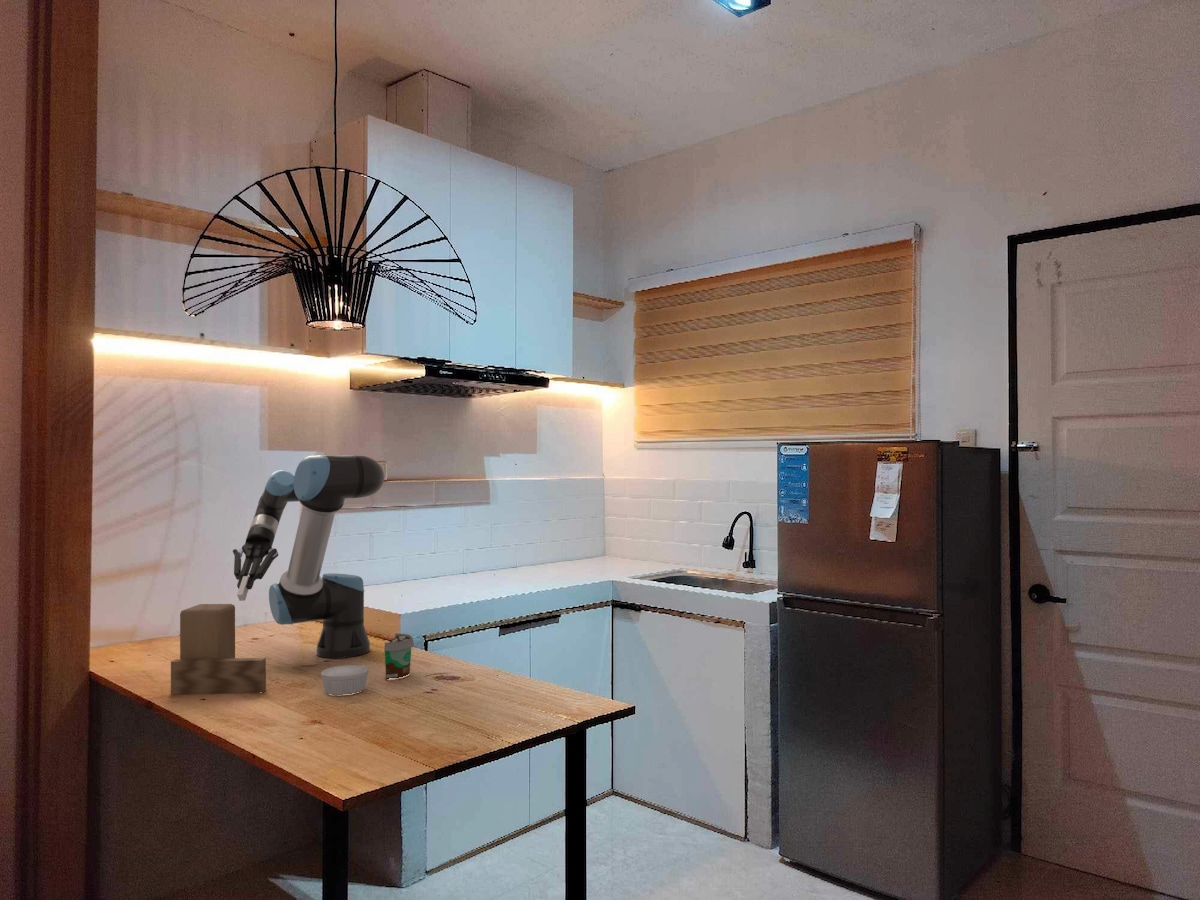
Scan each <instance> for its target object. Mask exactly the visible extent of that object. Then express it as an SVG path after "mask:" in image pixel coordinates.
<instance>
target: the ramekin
mask: <svg viewBox="0 0 1200 900" xmlns="http://www.w3.org/2000/svg"><path fill="white" fill-rule="evenodd" d="M369 672H370V669H369V667H367V666H365V665H361V664H360V665H359V664H353V665H352V664H351V665H350V664H348V665H346V664H345V665H338V666H333V667H329V668H326V669H324V670H322V671H320V678H321V679H322V685H323V690H324V692H325V694H326V693H327V694H332V695H343V694H352V693H357V692H360V691H362V690H363V691H365V689H366V687H367V681H368V675H369V674H370V673H369ZM363 691H362V692H363ZM327 694H326V695H327Z"/></svg>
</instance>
